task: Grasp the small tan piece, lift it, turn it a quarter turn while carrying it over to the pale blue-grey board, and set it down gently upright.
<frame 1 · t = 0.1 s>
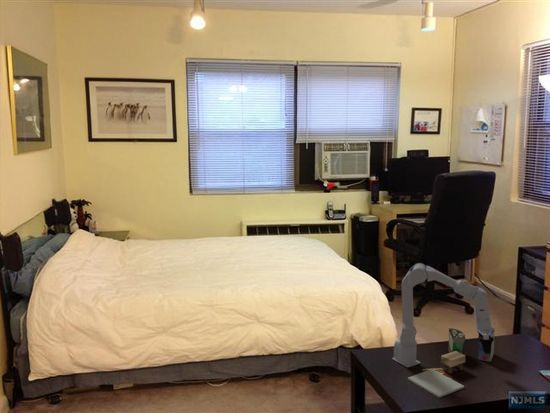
hand: (486, 349, 194), 11 cm above the table, tool pointing down, fingers open, 7 cm apart
tan piece: (452, 370, 199), on the table
ink cartridge box: (485, 356, 211), on the table
blue-grey board: (435, 383, 188), on the table
food container: (457, 354, 213), on the table
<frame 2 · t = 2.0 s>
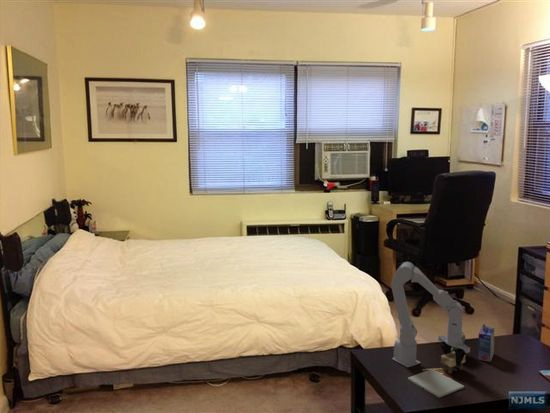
hand: (453, 362, 198), 3 cm above the table, tool pointing down, fingers closed on tan piece, 5 cm apart
tan piece: (452, 370, 199), on the table, touching gripper
everything else where it was.
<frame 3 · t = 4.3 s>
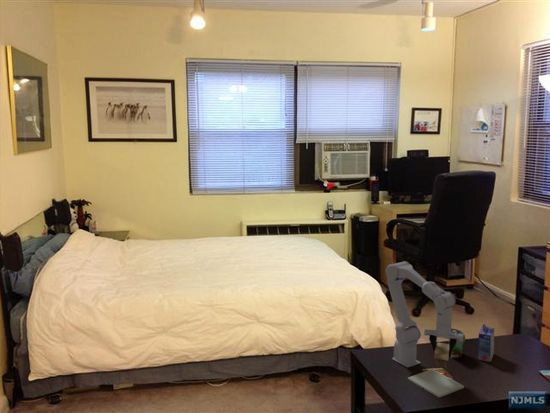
hand: (442, 354, 190), 10 cm above the table, tool pointing down, fingers closed on tan piece, 5 cm apart
tan piece: (442, 362, 191), point 7 cm above the table, touching gripper
everything else where it was.
when the fingers open (5 cm above the table, at t = 6.5 s): tan piece stays where it is, resting on blue-grey board.
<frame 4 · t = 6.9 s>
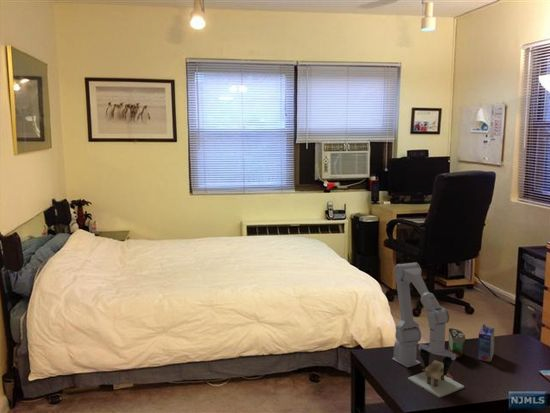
hand: (435, 371, 187), 5 cm above the table, tool pointing down, fingers open, 7 cm apart
tan piece: (435, 381, 188), point 1 cm above the table, touching blue-grey board
everything else where it was.
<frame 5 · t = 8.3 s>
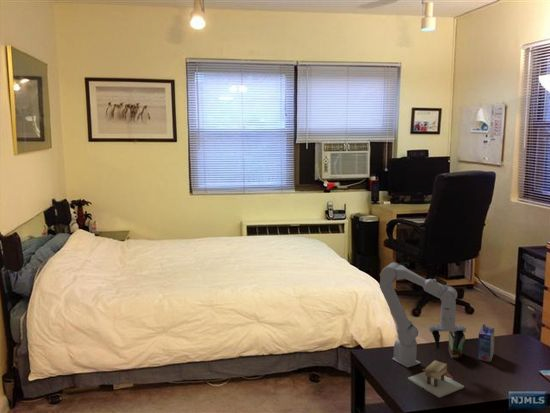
hand: (446, 347, 196), 10 cm above the table, tool pointing down, fingers open, 7 cm apart
nothing on the table moved.
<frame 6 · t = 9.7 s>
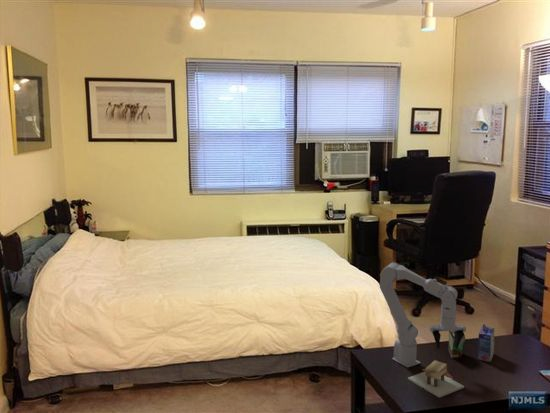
hand: (446, 347, 197), 10 cm above the table, tool pointing down, fingers open, 7 cm apart
nothing on the table moved.
at the end: tan piece inside the target area on the blue-grey board (0.2 cm from its centre), point 0.8 cm above the blue-grey board's base; tan piece tilted 0°; the gripper is holding nothing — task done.
